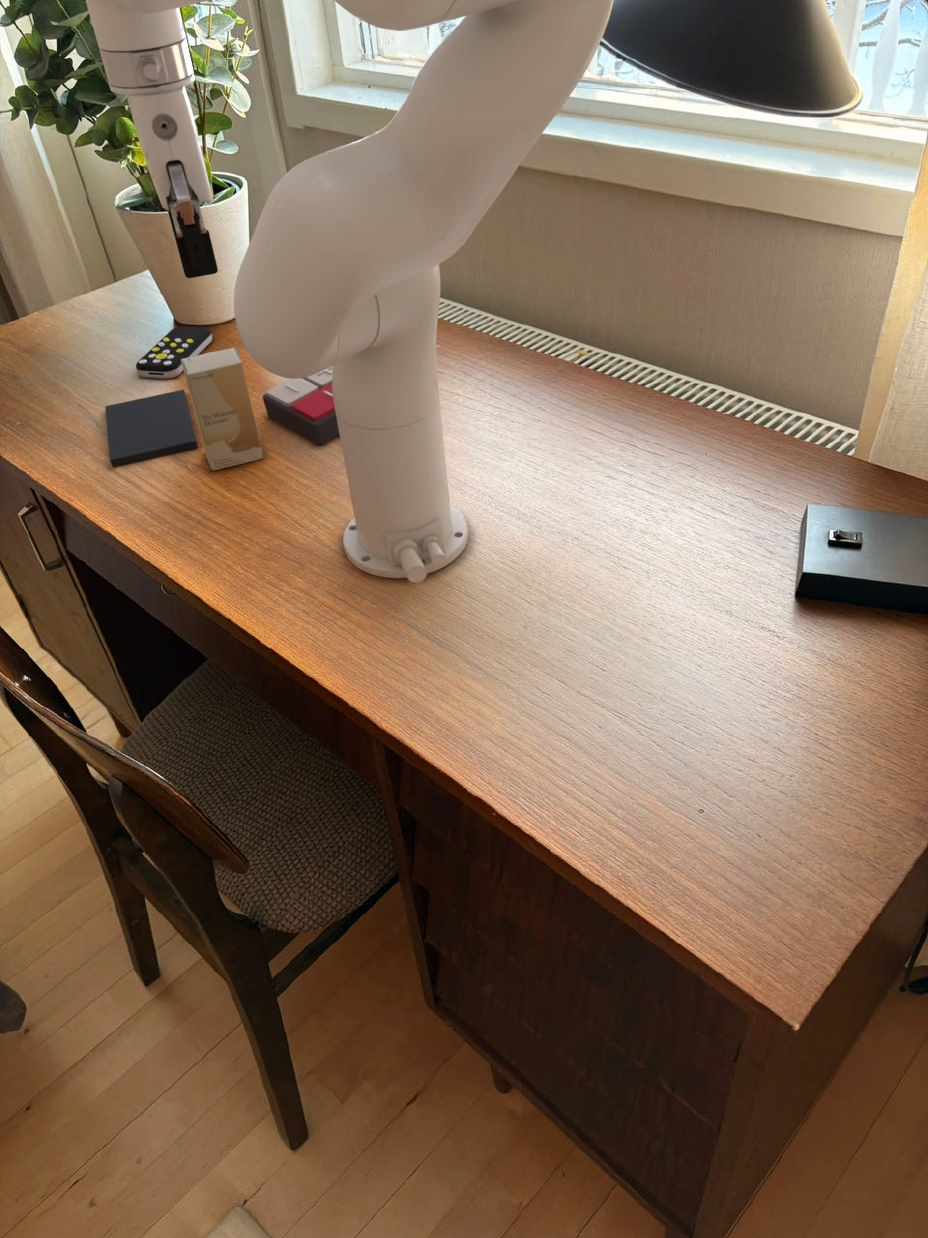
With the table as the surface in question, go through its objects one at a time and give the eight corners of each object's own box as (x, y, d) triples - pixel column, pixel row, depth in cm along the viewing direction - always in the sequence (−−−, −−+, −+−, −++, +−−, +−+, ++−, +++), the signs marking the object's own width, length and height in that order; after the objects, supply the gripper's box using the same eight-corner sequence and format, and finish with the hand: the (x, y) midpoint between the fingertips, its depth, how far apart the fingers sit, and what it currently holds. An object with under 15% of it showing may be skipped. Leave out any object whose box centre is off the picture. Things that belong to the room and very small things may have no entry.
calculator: (258, 390, 114) (354, 340, 121) (267, 420, 117) (360, 370, 124) (313, 419, 108) (410, 365, 115) (321, 451, 111) (415, 396, 118)
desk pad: (198, 447, 112) (195, 440, 112) (112, 467, 110) (110, 459, 110) (185, 395, 122) (183, 389, 122) (107, 412, 121) (105, 405, 120)
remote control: (216, 338, 135) (213, 325, 134) (175, 380, 126) (171, 366, 125) (178, 336, 136) (174, 323, 135) (134, 378, 127) (130, 364, 126)
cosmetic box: (212, 472, 108) (183, 375, 100) (205, 455, 111) (177, 358, 103) (266, 458, 109) (243, 360, 101) (258, 441, 113) (234, 345, 104)
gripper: (201, 81, 79) (245, 282, 90) (181, 42, 91) (222, 223, 102) (109, 94, 77) (166, 296, 89) (102, 52, 89) (153, 235, 101)
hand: (196, 257), depth 95 cm, fingers open, 9 cm apart
